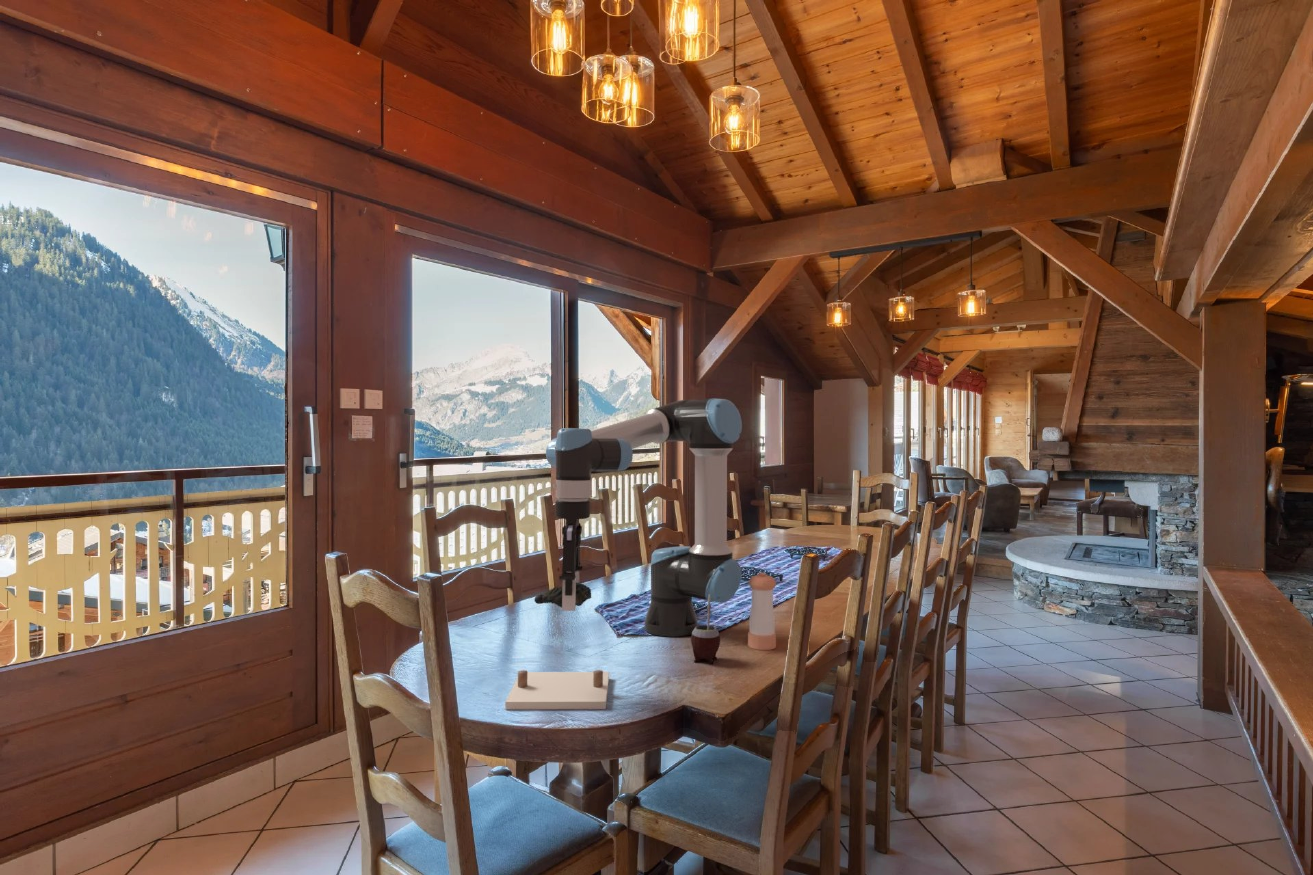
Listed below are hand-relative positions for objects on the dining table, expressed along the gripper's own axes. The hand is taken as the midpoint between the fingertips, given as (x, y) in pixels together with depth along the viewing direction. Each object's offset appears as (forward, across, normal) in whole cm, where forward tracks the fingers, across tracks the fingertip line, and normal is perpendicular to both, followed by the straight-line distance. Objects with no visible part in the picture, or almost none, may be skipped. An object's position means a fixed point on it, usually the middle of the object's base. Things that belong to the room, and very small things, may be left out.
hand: (570, 605), depth 147 cm
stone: (0, 0, -2) cm, 2 cm away
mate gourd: (+18, -19, +31) cm, 41 cm away
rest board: (+18, +2, -2) cm, 18 cm away
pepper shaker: (+17, -30, +47) cm, 59 cm away
